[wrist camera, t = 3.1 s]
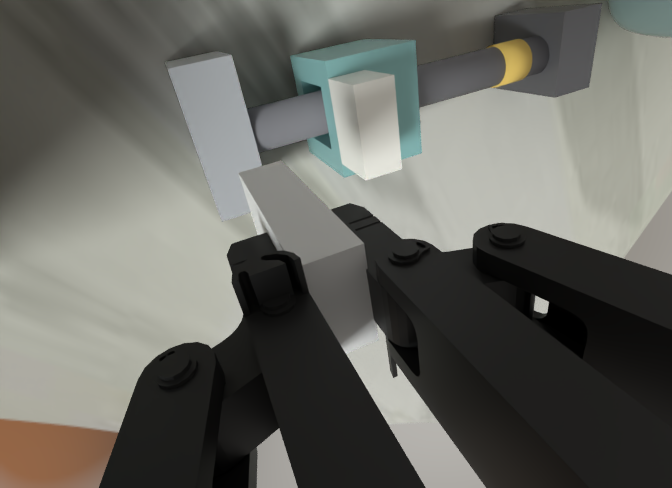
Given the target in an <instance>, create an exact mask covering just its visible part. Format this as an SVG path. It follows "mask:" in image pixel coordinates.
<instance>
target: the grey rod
mask: <svg viewBox="0 0 672 488" xmlns="http://www.w3.org/2000/svg"><path fill="white" fill-rule="evenodd" d="M548 61H549V47H548V44H547V42H546V41H545V40H544V39H543V38H542V37H540V36H533V37H529V38H525V39H514V40H511V41H507V42H503V43H499V44H495V45H491V46H488V47H487V48H486V49H482V50H478V51H474V52H470V53H466V54H462V55H458V56H454V57H450V58H446V59H442V60H438V61H434V62H430V63H426V64H422V65H418V66H417V77H418V95H419V107H423V106H426V105H430V104H433V103H437V102H440V101H444V100H447V99H451V98H454V97H458V96H461V95H465V94H468V93H472V92H476V91H479V90H483V89H486V88H490V87H491V88H495V87H499V86H502V85H506V84H509V83H513V82H517V81H520V80H522V79H524V78H525V77H529V76H532V75H536V74H539V73H541V72H542V71H543V70H544V69H545V67H546V66H547V64H548ZM247 112H248V116H249V120H250V123H251V127H252V130H253V134H254V138H255V141H256V145H257V149H258V152H259V153H260V152H263V151H267V150H270V149H274V148H278V147H281V146H285V145H288V144H292V143H295V142H299V141H302V140H306V139H309V138H313V137H316V136H320V135H324V134H327V133H329V131H328V125H327V120H326V114H325V108H324V103H323V97H322V91H321V90H320V91H316V92H312V93H308V94H304V95H300V96H296V97H292V98H288V99H284V100H280V101H276V102H272V103H268V104H264V105H260V106H256V107H252V108H248V109H247Z"/></svg>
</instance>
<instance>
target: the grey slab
mask: <svg viewBox="0 0 672 488" xmlns="http://www.w3.org/2000/svg"><path fill="white" fill-rule="evenodd" d="M165 64H166V67H167V70H168V73H169V75H170V78H171V81H172V84H173V87H174V89H175V92H176V95H177V98H178V101H179V103H180V106H181V109H182V112H183V114H184V117H185V120H186V123H187V126H188V128H189V131H190V134H191V137H192V140H193V142H194V145H195V148H196V151H197V154H198V156H199V159H200V162H201V165H202V168H203V170H204V173H205V176H206V179H207V182H208V184H209V187H210V190H211V193H212V195H213V198H214V201H215V204H216V206H217V209H218V212H219V215H220V218H221V220H222V222H223V221H226V220H229V219H232V218H235V217H238V216H241V215H245V214H248V213H251V212H250V208H249V205H248V202H247V199H246V196H245V192H244V189H243V186H242V183H241V180H240V176H239V173H240V172H243V171H246V170H250V169H253V168H257V167H260V166H262V163H261V160H260V156H259V152H258V149H257V145H256V141H255V138H254V134H253V130H252V127H251V123H250V120H249V116H248V112H247V109H246V105H245V101H244V98H243V94H242V90H241V87H240V83H239V80H238V76H237V72H236V69H235V65H234V61H233V58H232V55H230V54H227V53H223V52H219V51H215V52H210V53H205V54H200V55H196V56H191V57H186V58H182V59H177V60H172V61H167V62H165Z"/></svg>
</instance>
